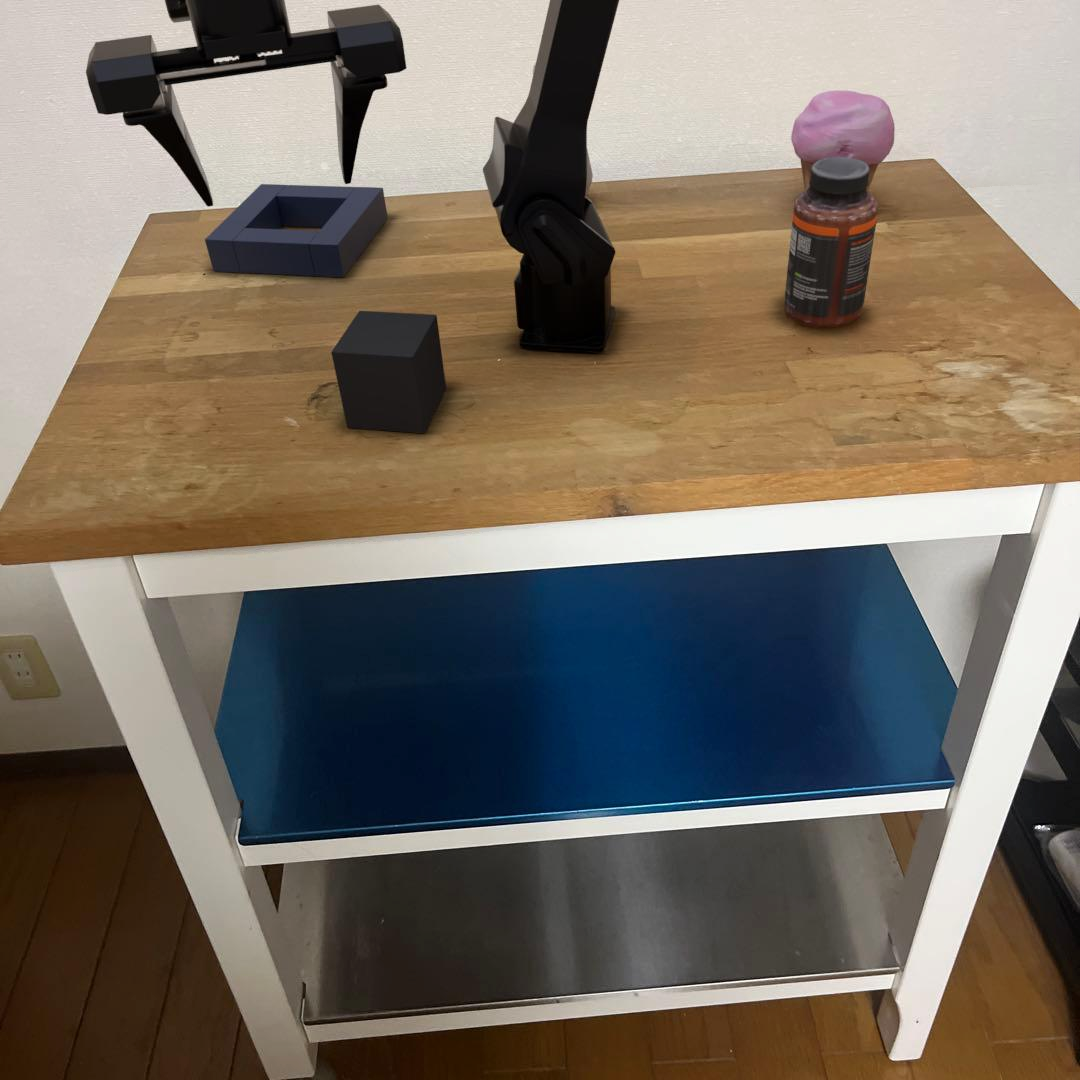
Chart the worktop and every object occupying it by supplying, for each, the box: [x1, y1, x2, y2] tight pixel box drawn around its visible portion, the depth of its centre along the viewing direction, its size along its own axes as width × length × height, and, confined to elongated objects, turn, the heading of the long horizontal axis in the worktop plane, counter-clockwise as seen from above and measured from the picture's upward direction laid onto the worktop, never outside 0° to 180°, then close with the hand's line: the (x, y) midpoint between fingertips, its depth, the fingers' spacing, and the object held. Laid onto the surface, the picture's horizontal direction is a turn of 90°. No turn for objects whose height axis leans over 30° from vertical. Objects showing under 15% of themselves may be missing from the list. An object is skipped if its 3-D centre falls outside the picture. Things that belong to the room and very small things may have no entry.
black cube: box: [330, 310, 447, 434], centre depth 70 cm, size 6×6×6 cm
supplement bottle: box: [783, 157, 879, 328], centre depth 76 cm, size 6×6×11 cm
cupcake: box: [790, 90, 896, 192], centre depth 91 cm, size 9×9×10 cm
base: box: [204, 183, 389, 278], centre depth 93 cm, size 12×12×3 cm
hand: (279, 192), depth 69 cm, fingers open, 9 cm apart
